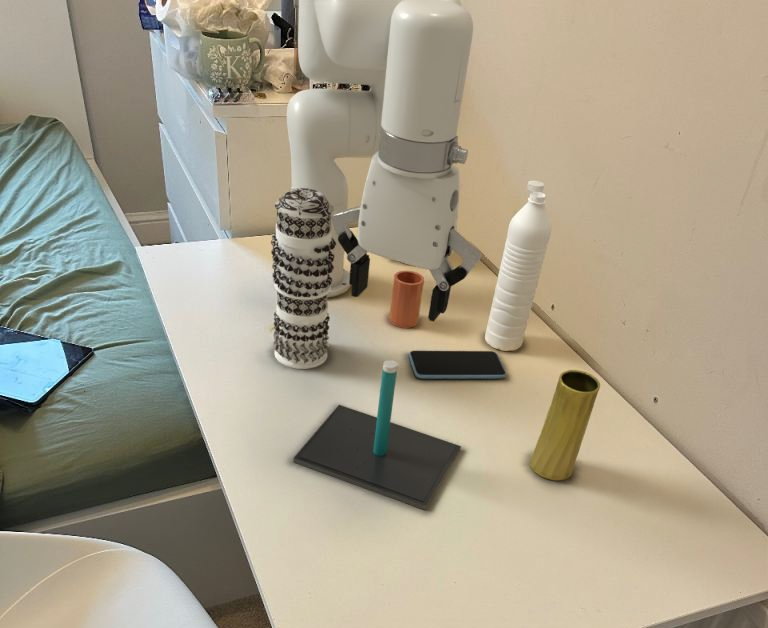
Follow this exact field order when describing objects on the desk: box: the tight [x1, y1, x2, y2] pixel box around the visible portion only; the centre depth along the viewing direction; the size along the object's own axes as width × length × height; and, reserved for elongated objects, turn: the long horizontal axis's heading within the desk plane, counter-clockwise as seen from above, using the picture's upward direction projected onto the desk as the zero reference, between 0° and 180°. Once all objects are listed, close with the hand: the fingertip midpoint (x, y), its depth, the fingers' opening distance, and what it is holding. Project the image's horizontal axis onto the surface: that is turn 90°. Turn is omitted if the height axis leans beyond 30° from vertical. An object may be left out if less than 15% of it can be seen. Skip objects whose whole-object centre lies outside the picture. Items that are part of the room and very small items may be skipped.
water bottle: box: [484, 180, 552, 352], centre depth 118 cm, size 9×6×25 cm
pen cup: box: [388, 270, 425, 329], centre depth 125 cm, size 5×5×8 cm
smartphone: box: [408, 350, 507, 379], centre depth 119 cm, size 7×1×15 cm
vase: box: [529, 369, 601, 481], centre depth 98 cm, size 6×6×14 cm
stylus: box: [373, 359, 399, 456], centre depth 95 cm, size 2×2×14 cm
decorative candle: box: [270, 188, 336, 370], centre depth 109 cm, size 9×9×25 cm
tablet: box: [292, 404, 462, 511], centre depth 100 cm, size 19×14×1 cm
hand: (396, 303), depth 86 cm, fingers open, 9 cm apart
